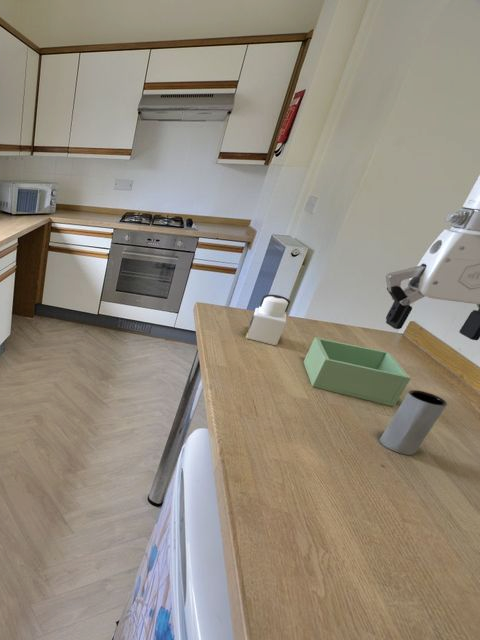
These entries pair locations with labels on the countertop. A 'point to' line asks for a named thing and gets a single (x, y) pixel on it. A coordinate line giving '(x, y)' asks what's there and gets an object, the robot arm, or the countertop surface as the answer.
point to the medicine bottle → (268, 320)
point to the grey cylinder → (412, 422)
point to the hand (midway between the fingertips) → (429, 331)
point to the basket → (355, 371)
